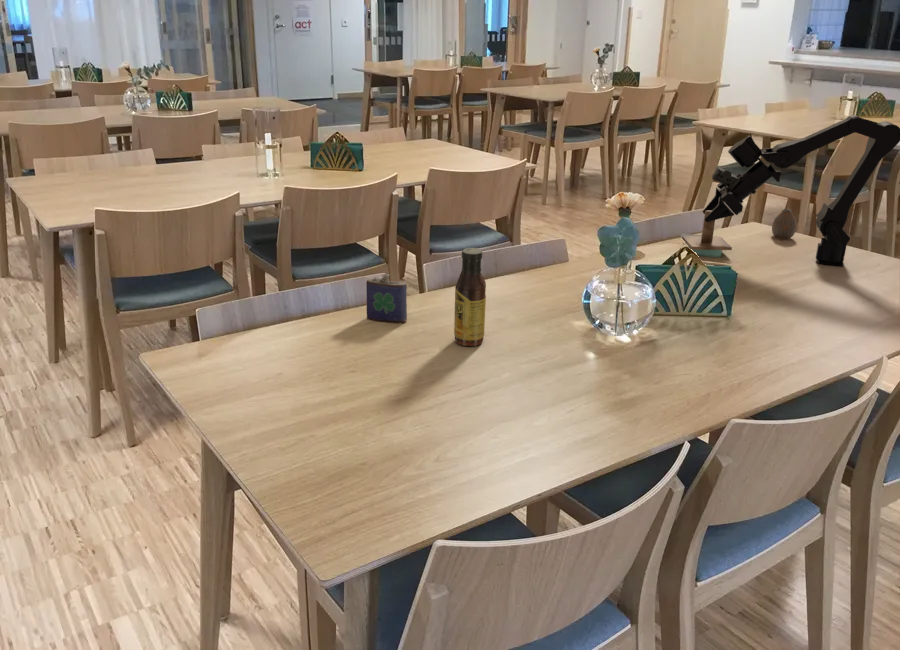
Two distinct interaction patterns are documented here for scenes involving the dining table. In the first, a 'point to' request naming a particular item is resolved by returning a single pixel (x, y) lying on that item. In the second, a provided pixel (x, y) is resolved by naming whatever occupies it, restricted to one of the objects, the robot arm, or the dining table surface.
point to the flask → (386, 300)
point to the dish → (708, 252)
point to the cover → (707, 238)
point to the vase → (784, 225)
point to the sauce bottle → (470, 300)
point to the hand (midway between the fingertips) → (704, 216)
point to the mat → (689, 235)
